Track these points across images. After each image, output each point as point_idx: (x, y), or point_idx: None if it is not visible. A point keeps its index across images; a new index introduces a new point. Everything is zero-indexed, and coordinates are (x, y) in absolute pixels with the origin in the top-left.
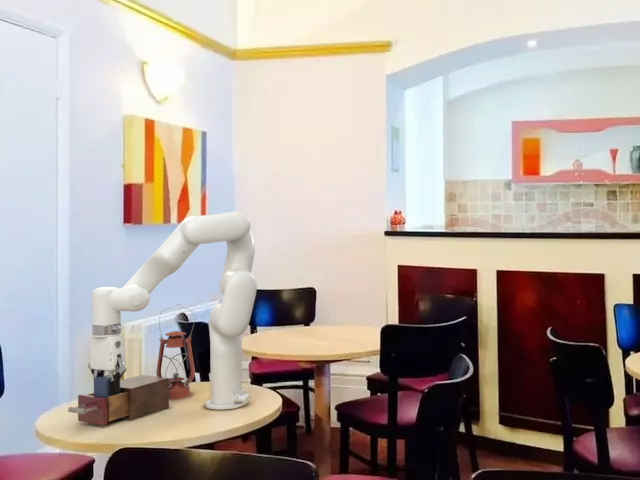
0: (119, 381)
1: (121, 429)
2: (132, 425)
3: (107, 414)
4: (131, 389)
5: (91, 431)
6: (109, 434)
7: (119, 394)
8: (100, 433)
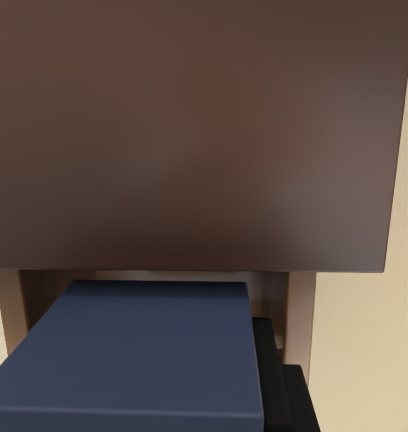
0: (255, 367)
1: (388, 332)
2: (393, 259)
3: (187, 279)
4: (381, 257)
5: None
6: (391, 407)
7: (310, 346)
8: (333, 411)
